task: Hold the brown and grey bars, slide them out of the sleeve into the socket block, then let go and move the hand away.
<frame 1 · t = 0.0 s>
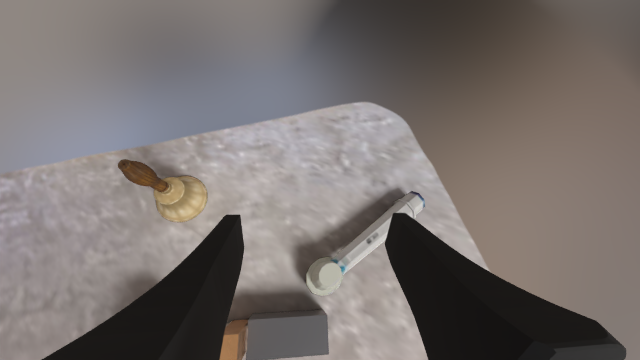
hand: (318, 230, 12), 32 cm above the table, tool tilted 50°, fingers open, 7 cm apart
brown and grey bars: (254, 339, 33), point 5 cm above the table, slide at 0.0 cm
hand bell: (183, 199, 43), on the table
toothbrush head: (364, 241, 45), on the table
sleeve: (288, 328, 38), on the table
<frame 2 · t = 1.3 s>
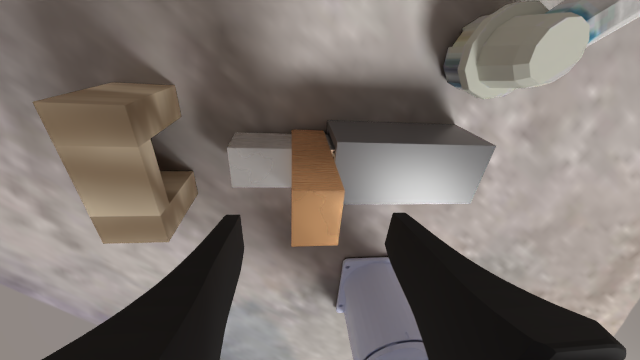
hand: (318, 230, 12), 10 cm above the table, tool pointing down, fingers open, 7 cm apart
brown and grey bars: (349, 177, 17), point 5 cm above the table, slide at 0.0 cm
sleeve: (387, 149, 21), on the table
socket block: (160, 145, 19), on the table
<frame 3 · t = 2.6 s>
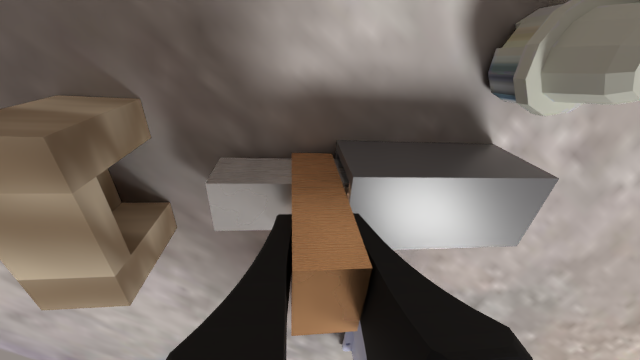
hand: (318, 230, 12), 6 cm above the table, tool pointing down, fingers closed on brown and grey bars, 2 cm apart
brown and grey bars: (367, 220, 13), point 5 cm above the table, slide at 0.0 cm, touching gripper
sleeve: (409, 174, 17), on the table
socket block: (126, 172, 15), on the table
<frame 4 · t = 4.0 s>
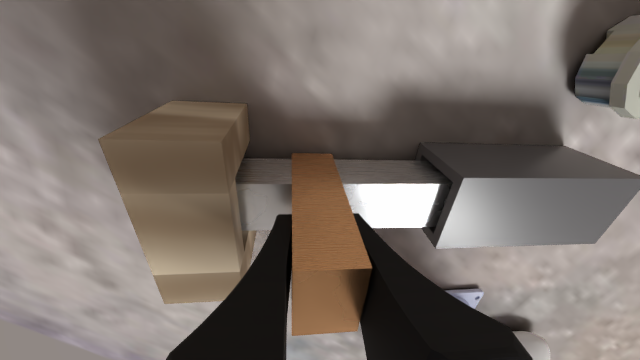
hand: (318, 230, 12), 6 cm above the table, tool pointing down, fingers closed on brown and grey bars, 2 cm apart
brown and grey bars: (367, 220, 13), point 5 cm above the table, slide at 5.6 cm, touching gripper
sleeve: (481, 174, 18), on the table
flower in vase: (483, 346, 33), on the table
socket block: (221, 173, 16), on the table
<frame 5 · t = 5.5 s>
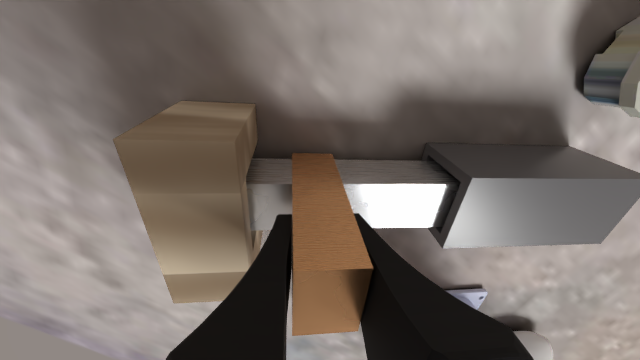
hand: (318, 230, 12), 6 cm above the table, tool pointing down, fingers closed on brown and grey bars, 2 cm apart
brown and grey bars: (367, 220, 13), point 5 cm above the table, slide at 6.1 cm, touching gripper
sleeve: (487, 175, 18), on the table
flower in vase: (486, 346, 33), on the table
socket block: (228, 173, 16), on the table
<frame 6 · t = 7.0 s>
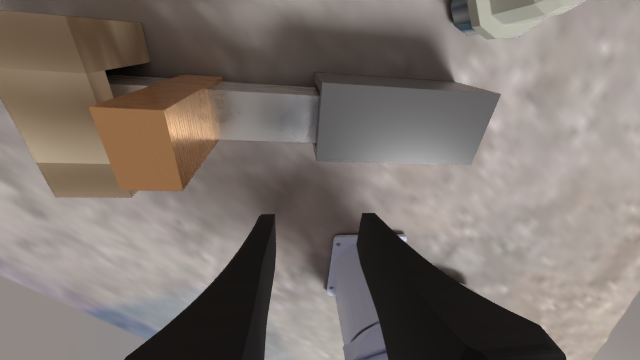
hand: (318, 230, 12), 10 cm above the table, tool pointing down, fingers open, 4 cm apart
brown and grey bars: (231, 122, 14), point 5 cm above the table, slide at 6.0 cm
sleeve: (381, 109, 20), on the table
socket block: (128, 96, 17), on the table
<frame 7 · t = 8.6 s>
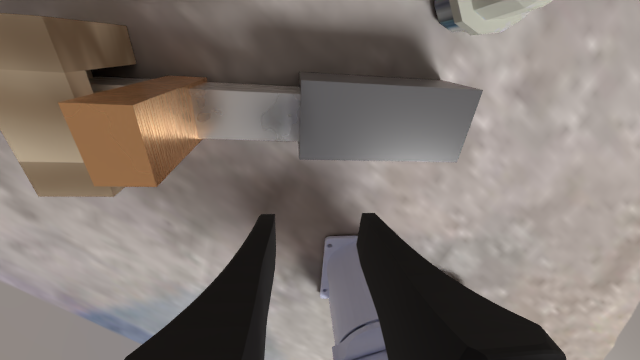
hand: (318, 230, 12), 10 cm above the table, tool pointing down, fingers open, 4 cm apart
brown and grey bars: (212, 120, 14), point 5 cm above the table, slide at 6.0 cm
sleeve: (367, 108, 20), on the table
socket block: (115, 97, 17), on the table
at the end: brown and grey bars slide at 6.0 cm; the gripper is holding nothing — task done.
